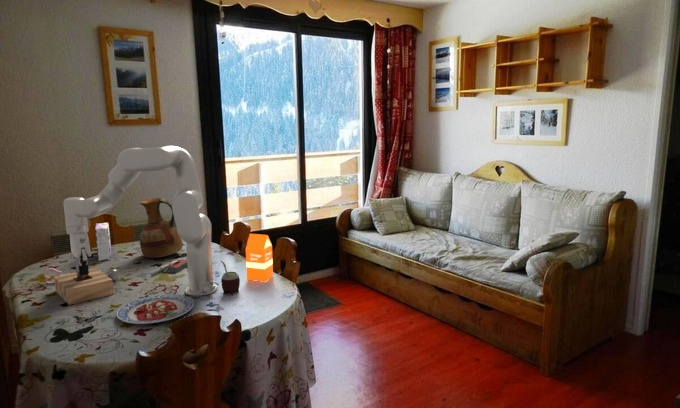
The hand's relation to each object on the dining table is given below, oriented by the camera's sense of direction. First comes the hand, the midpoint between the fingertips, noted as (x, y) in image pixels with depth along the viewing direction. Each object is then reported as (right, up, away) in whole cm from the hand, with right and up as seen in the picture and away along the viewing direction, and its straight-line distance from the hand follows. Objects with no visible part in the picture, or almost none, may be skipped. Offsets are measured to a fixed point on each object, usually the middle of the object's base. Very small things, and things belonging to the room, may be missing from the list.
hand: (82, 272), depth 184 cm
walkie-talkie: (+25, -4, +28) cm, 38 cm away
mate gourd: (+59, -8, 0) cm, 60 cm away
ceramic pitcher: (+12, +1, +52) cm, 53 cm away
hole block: (0, -8, +2) cm, 8 cm away
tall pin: (0, -4, +1) cm, 4 cm away
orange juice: (+68, -5, +16) cm, 70 cm away
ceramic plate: (+37, -12, -18) cm, 43 cm away
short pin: (+5, -6, +15) cm, 17 cm away
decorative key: (-13, -6, +16) cm, 22 cm away
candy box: (-16, 0, +50) cm, 53 cm away
